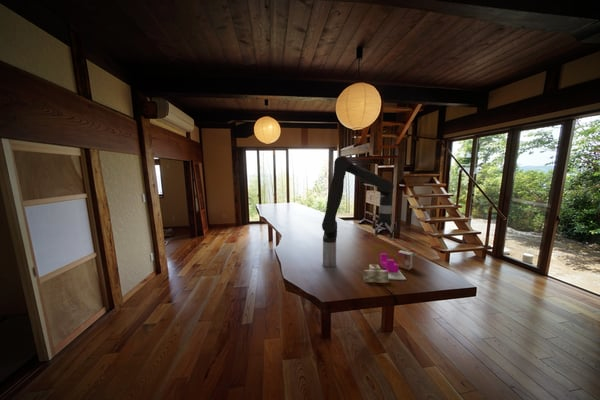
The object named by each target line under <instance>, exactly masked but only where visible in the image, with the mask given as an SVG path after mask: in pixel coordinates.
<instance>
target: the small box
mask: <svg viewBox="0 0 600 400" xmlns="http://www.w3.org/2000/svg"><path fill="white" fill-rule="evenodd" d="M413 254H414V252H411V251H406V250H402V249H401V250H399V251H397V263H396V264H397V265H398V268H401V269H405V270H408V271H410V270H411V269H413V256H414V255H413Z"/></svg>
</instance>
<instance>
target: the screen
mask: <svg viewBox="0 0 600 400" xmlns="http://www.w3.org/2000/svg"><path fill="white" fill-rule="evenodd" d="M388 273H389V272H388V271H379V270H369V269H364V270H363V282H364V283H380V284H381V283H382V284H384V283H385V284H390V279H388Z"/></svg>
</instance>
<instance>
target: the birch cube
mask: <svg viewBox="0 0 600 400" xmlns="http://www.w3.org/2000/svg"><path fill="white" fill-rule="evenodd" d="M368 270H379V271H380V270H381V267H380V265H379V264H369V265H368Z"/></svg>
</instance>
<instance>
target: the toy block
mask: <svg viewBox="0 0 600 400" xmlns="http://www.w3.org/2000/svg"><path fill="white" fill-rule="evenodd" d="M379 261H380V265H381V266H382V268H384V270H387V271H388V272H398V270H399V267H398V265H397V263H396V262H395V260H394V259H393V258H388V254H387V253H386V252H385V253H383V252H382V253H380V260H379Z"/></svg>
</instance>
